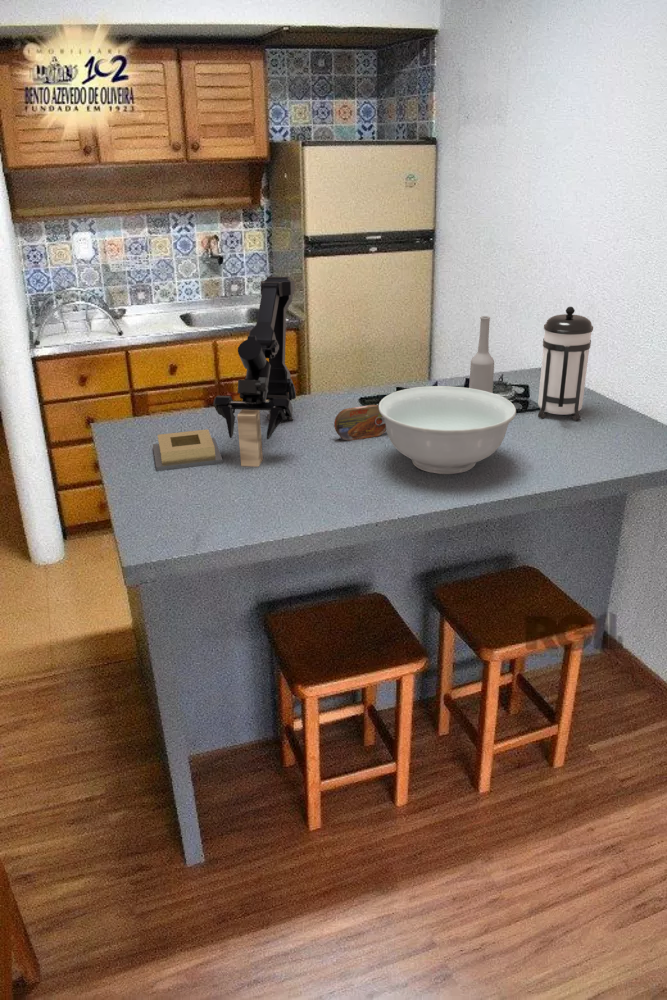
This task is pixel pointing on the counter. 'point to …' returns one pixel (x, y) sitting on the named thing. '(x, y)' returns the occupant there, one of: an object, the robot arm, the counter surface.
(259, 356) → the robot arm
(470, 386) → the bottle
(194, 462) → the socket
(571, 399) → the coffee press
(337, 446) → the counter surface
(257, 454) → the pin
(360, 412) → the tin
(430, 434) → the bowl
